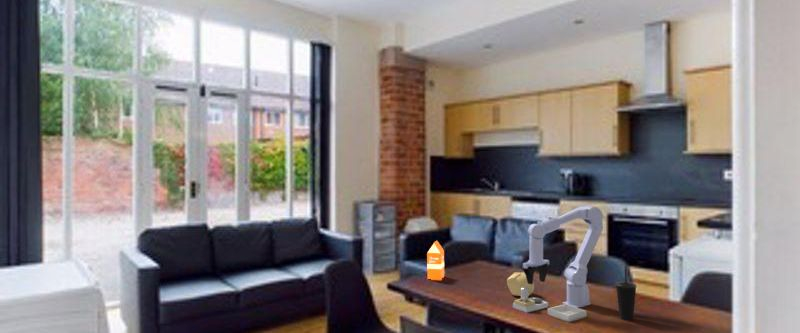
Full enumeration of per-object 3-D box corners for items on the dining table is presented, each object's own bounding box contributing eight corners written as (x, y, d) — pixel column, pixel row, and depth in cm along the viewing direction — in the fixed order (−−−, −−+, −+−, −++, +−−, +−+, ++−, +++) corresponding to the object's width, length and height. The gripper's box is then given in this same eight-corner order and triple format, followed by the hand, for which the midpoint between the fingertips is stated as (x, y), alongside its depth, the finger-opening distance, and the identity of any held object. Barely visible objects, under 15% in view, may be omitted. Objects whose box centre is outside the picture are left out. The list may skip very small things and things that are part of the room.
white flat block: (534, 302, 210) (534, 294, 210) (548, 307, 203) (548, 298, 203) (513, 307, 203) (512, 299, 203) (526, 312, 196) (526, 304, 196)
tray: (565, 310, 198) (565, 304, 198) (586, 317, 189) (586, 310, 189) (547, 314, 193) (547, 308, 193) (568, 322, 184) (568, 315, 184)
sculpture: (514, 290, 230) (514, 268, 230) (537, 294, 223) (537, 271, 222) (503, 295, 221) (503, 272, 221) (527, 300, 214) (527, 276, 213)
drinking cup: (630, 315, 191) (630, 266, 190) (641, 321, 183) (640, 270, 183) (612, 315, 190) (611, 266, 190) (621, 322, 183) (621, 271, 182)
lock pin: (524, 302, 203) (524, 286, 203) (530, 304, 201) (529, 288, 201) (519, 303, 202) (519, 287, 202) (524, 305, 199) (524, 289, 199)
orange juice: (427, 279, 254) (426, 242, 253) (431, 275, 262) (430, 240, 262) (441, 280, 251) (440, 243, 251) (444, 276, 260) (444, 240, 260)
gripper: (540, 248, 212) (540, 278, 212) (517, 251, 204) (517, 282, 204) (553, 251, 206) (553, 281, 206) (530, 254, 198) (529, 286, 198)
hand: (536, 282), depth 205 cm, fingers open, 7 cm apart
